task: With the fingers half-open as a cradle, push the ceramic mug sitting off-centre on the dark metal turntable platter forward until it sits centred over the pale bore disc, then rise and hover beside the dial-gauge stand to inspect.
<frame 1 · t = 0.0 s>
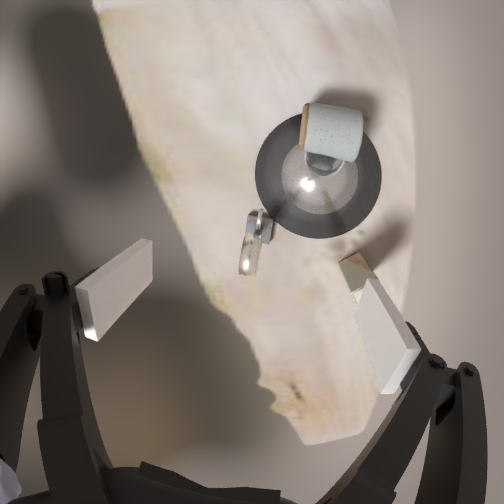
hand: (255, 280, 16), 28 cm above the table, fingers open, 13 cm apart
ceramic mug: (326, 141, 38), resting on platter
dial stand: (259, 228, 44), on the table
platter: (320, 175, 40), on the table
box: (353, 268, 44), on the table
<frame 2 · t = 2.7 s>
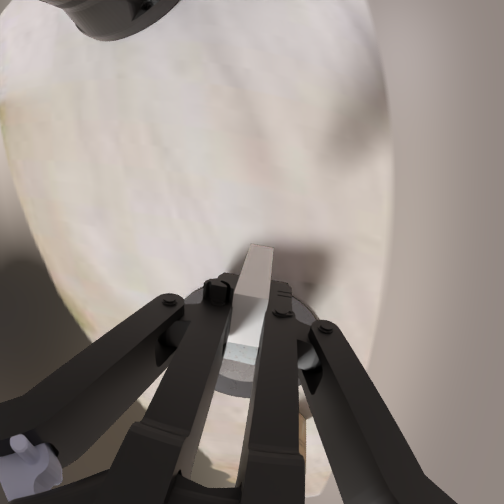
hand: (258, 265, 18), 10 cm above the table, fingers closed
ceramic mug: (250, 316, 31), resting on platter
platter: (244, 349, 33), on the table
box: (288, 415, 38), on the table
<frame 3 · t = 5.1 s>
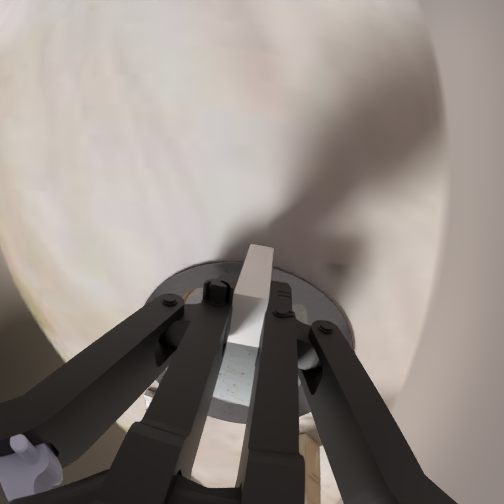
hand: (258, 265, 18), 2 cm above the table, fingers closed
ceramic mug: (245, 330, 22), resting on platter
platter: (240, 363, 23), on the table
box: (297, 442, 28), on the table
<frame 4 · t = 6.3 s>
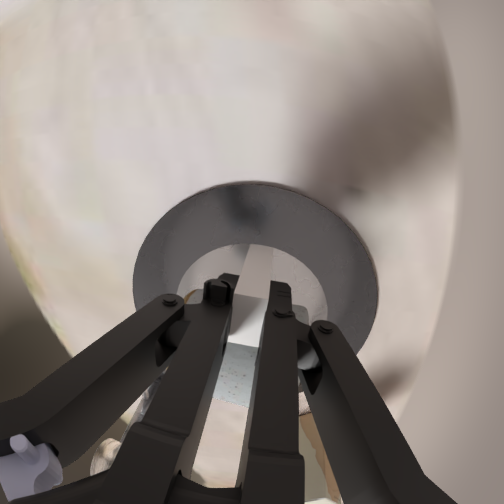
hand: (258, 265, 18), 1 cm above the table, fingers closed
ceramic mug: (246, 331, 21), resting on platter, touching gripper
dial stand: (160, 375, 25), on the table
platter: (250, 315, 21), on the table
box: (311, 422, 26), on the table
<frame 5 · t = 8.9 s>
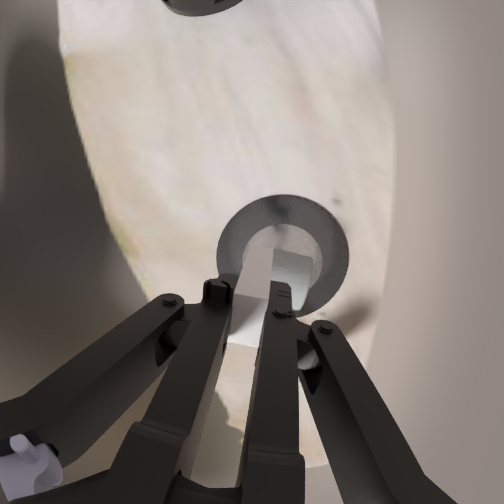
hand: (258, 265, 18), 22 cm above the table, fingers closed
ceramic mug: (278, 274, 41), resting on platter
platter: (282, 262, 41), on the table
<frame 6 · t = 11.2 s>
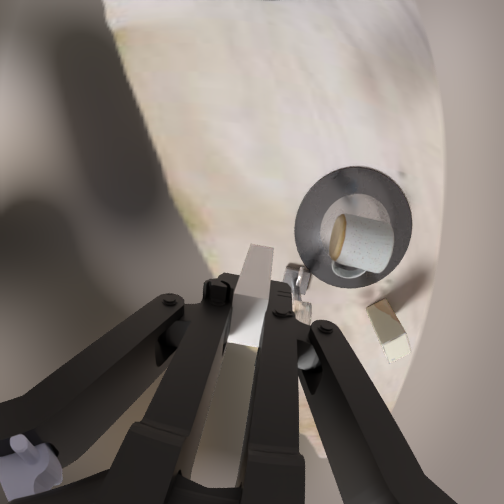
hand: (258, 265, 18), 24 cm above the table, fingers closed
ceramic mug: (353, 243, 41), resting on platter
dial stand: (295, 279, 45), on the table
platter: (356, 230, 41), on the table
box: (378, 311, 45), on the table
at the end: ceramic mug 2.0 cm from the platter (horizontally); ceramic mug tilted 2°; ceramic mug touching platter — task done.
